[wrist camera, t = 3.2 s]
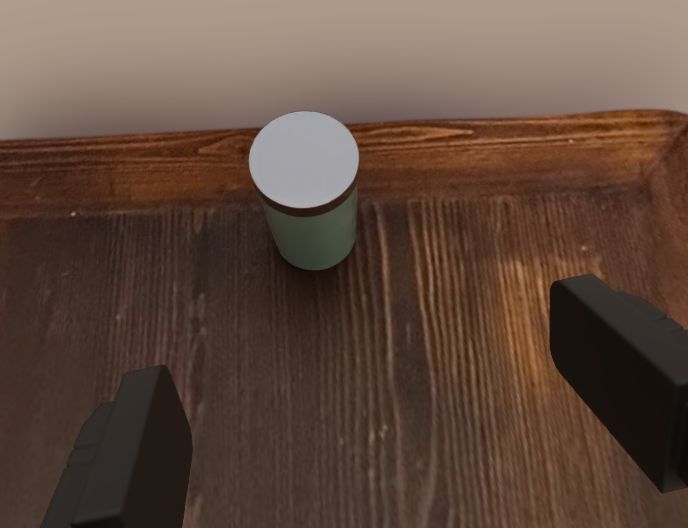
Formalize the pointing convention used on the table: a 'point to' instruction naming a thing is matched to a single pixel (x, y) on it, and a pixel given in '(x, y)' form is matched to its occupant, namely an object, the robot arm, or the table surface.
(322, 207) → the jar
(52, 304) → the table surface
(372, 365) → the table surface
